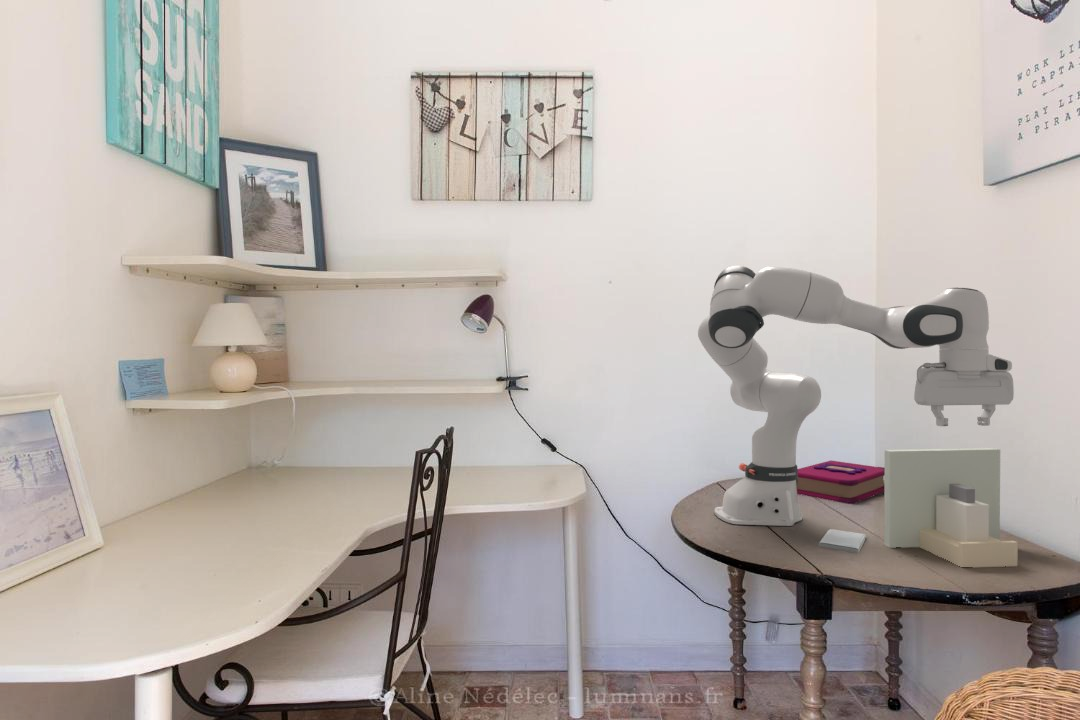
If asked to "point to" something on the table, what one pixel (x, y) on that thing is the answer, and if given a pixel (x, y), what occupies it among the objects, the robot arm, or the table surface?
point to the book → (840, 481)
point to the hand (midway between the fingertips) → (962, 425)
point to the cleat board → (914, 502)
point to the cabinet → (962, 515)
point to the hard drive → (843, 540)
